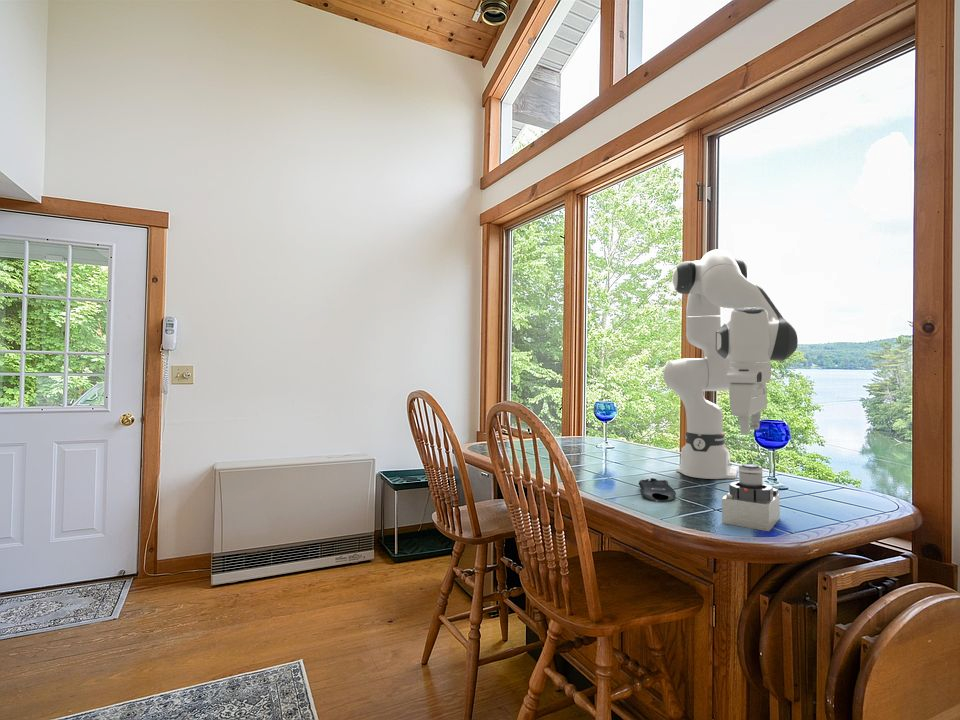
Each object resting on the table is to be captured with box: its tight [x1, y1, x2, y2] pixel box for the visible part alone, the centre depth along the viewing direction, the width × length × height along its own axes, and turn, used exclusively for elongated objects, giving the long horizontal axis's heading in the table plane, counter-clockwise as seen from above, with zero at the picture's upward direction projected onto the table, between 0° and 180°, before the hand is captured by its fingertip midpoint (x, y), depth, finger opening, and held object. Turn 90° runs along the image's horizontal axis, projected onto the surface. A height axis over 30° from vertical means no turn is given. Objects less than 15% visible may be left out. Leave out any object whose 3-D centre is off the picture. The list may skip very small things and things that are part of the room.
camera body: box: [721, 480, 781, 532], centre depth 129 cm, size 13×10×9 cm
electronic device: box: [638, 477, 677, 502], centre depth 154 cm, size 9×6×15 cm
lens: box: [738, 463, 764, 489], centre depth 129 cm, size 5×5×7 cm
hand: (750, 431), depth 129 cm, fingers open, 8 cm apart
